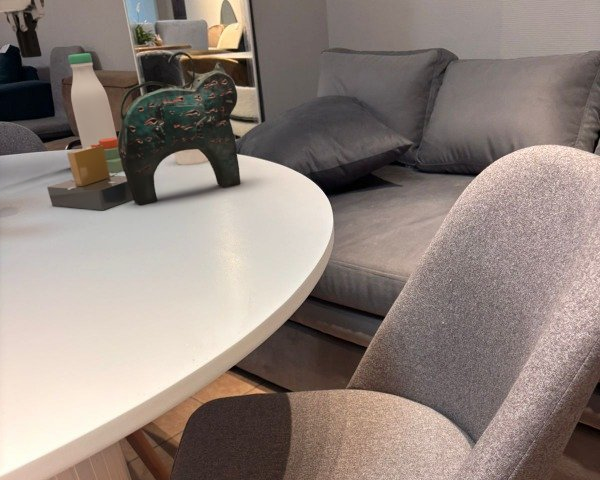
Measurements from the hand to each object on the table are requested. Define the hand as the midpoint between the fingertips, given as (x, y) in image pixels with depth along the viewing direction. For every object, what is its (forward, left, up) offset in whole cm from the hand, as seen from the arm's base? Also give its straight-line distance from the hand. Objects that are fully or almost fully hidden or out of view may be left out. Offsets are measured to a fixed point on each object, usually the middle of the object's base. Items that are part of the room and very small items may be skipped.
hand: (31, 56), depth 115 cm
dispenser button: (+7, +7, -17) cm, 20 cm away
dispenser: (+7, +7, -21) cm, 23 cm away
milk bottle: (-7, +17, -21) cm, 28 cm away
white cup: (+21, +15, -21) cm, 33 cm away
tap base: (+25, -14, -21) cm, 35 cm away
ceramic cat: (+38, -6, -21) cm, 44 cm away
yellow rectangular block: (+25, -14, -18) cm, 33 cm away
